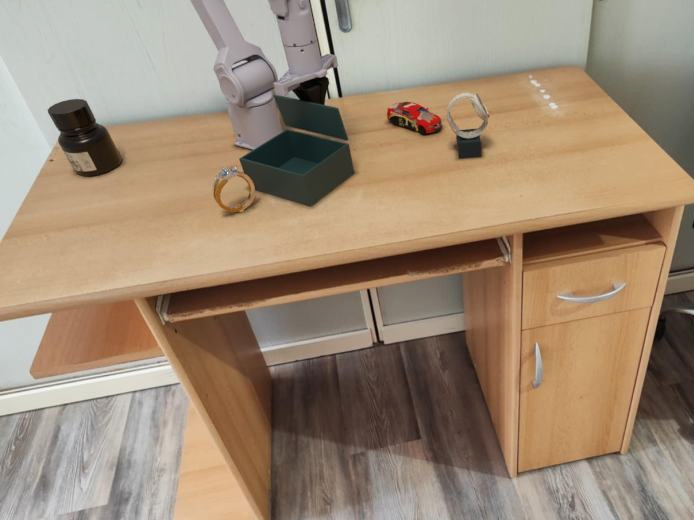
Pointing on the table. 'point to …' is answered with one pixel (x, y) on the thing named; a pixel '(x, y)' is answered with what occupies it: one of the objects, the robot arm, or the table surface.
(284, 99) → the flap
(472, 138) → the watch
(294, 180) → the carton
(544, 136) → the table surface
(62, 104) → the ink bottle
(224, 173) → the ring
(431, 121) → the race car
